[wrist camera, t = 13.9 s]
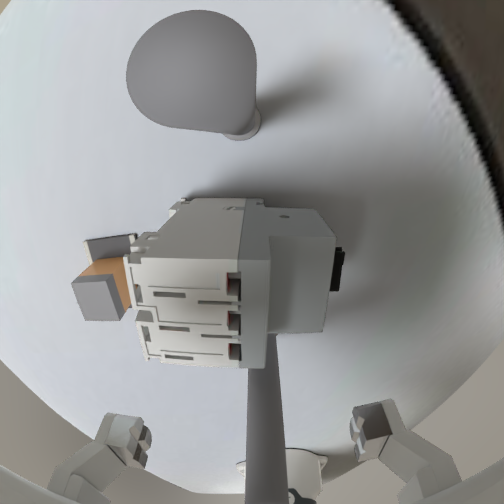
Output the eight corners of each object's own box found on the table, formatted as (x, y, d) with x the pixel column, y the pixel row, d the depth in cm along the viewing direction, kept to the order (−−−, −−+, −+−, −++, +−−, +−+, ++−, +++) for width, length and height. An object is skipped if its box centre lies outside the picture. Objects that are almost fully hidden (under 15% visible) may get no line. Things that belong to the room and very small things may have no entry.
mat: (154, 304, 33) (153, 307, 33) (106, 306, 34) (104, 308, 33) (135, 233, 30) (133, 235, 30) (85, 240, 30) (82, 242, 30)
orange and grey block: (138, 291, 32) (119, 320, 27) (107, 293, 32) (85, 320, 27) (128, 256, 31) (105, 281, 25) (96, 259, 31) (70, 283, 25)
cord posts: (279, 337, 35) (296, 510, 15) (247, 340, 35) (241, 513, 15) (258, 98, 25) (268, -15, 4) (215, 103, 25) (106, 19, 5)
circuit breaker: (317, 268, 31) (357, 364, 18) (185, 266, 31) (141, 360, 18) (324, 200, 29) (383, 261, 15) (181, 198, 29) (118, 256, 15)
